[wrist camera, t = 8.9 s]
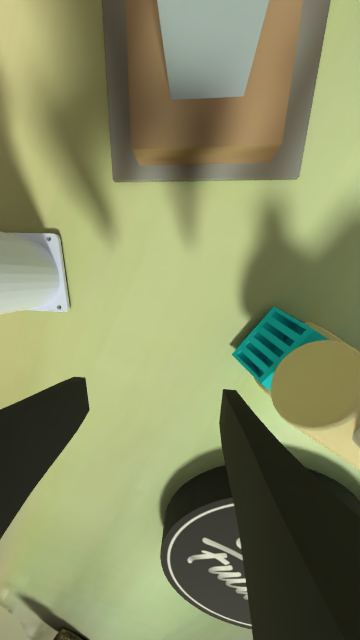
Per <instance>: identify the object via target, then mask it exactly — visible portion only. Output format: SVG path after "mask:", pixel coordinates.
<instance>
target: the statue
mask: <svg viewBox="0 0 360 640" xmlns="http://www.w3.org/2000/svg"><path fill="white" fill-rule="evenodd" d="M53 640H83V639H82V638H80V637H79V636H77V635H76V634H74V633H73V632H71V631H69V630H67V629H61V630H60V631H59V632H58V634H57V635H56V636H55V638H54V639H53Z"/></svg>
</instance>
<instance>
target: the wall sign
mask: <svg viewBox="0 0 360 640" xmlns="http://www.w3.org/2000/svg"><path fill="white" fill-rule="evenodd" d="M306 469H307V468H306ZM307 470H308V471H309V472H310V473H312V474H313V475H314V476H315V477H316V478H317V479H318V480H319V481H320V482H321V483H322V484H323V485H324V486H325V487H326V488H328V489H329V490H330V491H331V492H332V493H333V494H334V495H335V496H337V497H338V498H339V499H340V500H341V501H342V502H343V503H345V504H346V505H347V506H348V507H349V508H350V509H351V510H353V511H354V512H355V513H356V514H357V515H358V516H360V501H359V500H358V499H357V498H356V497H355V496H354V495H353V494H352V493H351V492H350V491H349V490H348V489H346V488H345V487H344V486H342V485H341V484H340V483H338V482H336V481H335V480H333V479H331V478H329V477H327V476H325V475H323V474H321V473H318V472H315V471H313V470H310V469H307ZM160 558H161V564H162V568H163V571H164V574H165V576H166V578H167V579H168V581H169V583H170V584H171V585H172V587H173V588H174V589H175V590H176V591H177V593H179V594H180V595H181V596H182V597H183V598H184V599H185V600H186V601H188V602H189V603H190V604H192V605H193V606H195V607H196V608H198V609H199V610H201V611H203V612H205V613H207V614H209V615H210V616H213V617H215V618H217V619H220V620H222V621H225V622H227V623H230V624H233V625H237V626H240V627H244V628H248V629H252V625H251V617H250V610H249V602H248V595H247V587H246V580H245V572H244V565H243V558H242V551H241V543H240V536H239V529H238V524H237V518H236V512H235V507H234V503H233V498H232V493H231V488H230V483H229V479H228V474H227V469H226V465H225V466H221V467H218V468H214V469H212V470H209V471H206V472H204V473H202V474H200V475H198V476H196V477H195V478H193V479H191V480H190V481H188V482H187V483H186V484H184V485H183V486H182V487H181V488H180V489H179V490H178V491H177V492H176V493H175V495H174V496H173V497H172V499H171V501H170V502H169V505H168V507H167V510H166V514H165V521H164V529H163V537H162V545H161V556H160Z"/></svg>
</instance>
